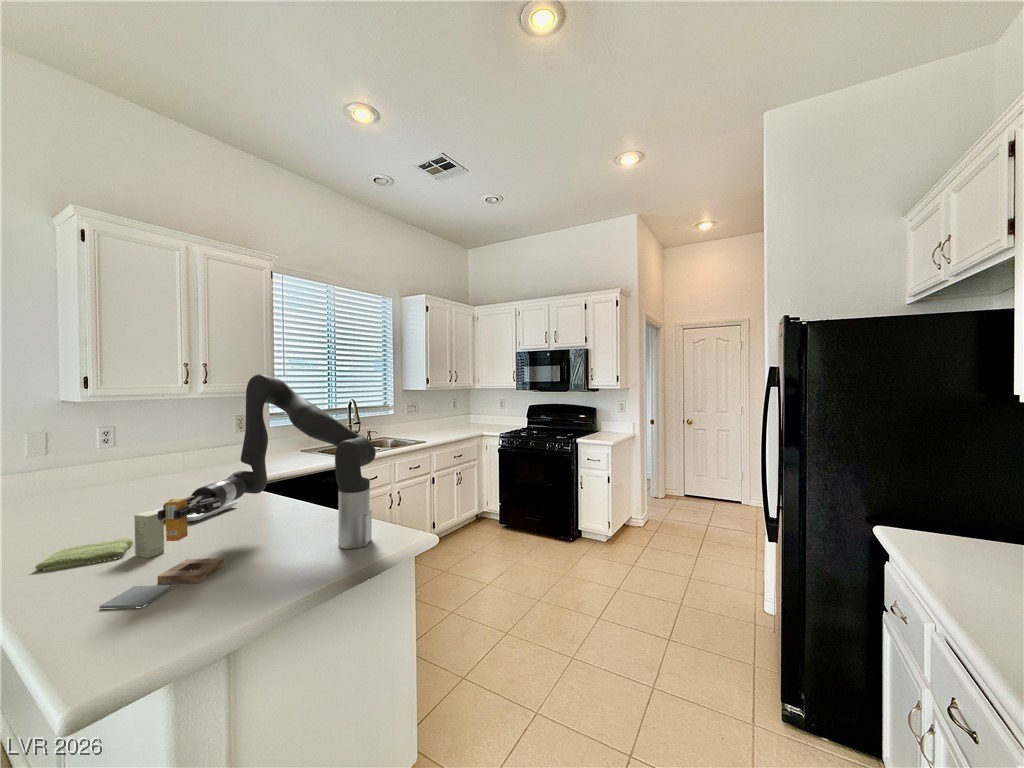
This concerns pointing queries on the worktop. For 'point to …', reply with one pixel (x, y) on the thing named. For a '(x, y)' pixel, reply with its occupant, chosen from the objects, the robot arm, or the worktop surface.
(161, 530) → the skincare box
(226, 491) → the robot arm
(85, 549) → the washcloth
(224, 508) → the salad plate
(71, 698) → the worktop surface
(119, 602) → the grey rubber pad
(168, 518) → the supplement box
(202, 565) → the walnut collar
